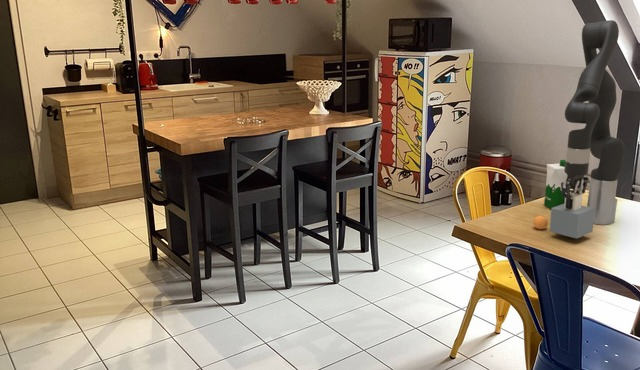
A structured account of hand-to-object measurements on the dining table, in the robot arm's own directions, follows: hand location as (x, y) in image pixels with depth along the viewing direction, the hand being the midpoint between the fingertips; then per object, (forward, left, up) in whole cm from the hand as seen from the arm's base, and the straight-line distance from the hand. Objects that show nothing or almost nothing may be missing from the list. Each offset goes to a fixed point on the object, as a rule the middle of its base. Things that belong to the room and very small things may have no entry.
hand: (572, 206), depth 196 cm
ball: (+6, -10, -9) cm, 15 cm away
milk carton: (-12, -33, -12) cm, 36 cm away
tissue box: (0, 0, -9) cm, 9 cm away
